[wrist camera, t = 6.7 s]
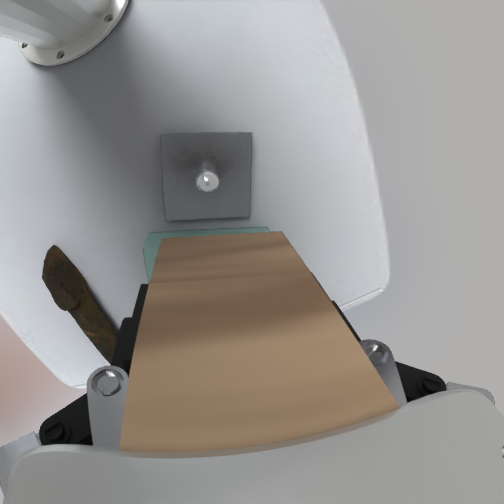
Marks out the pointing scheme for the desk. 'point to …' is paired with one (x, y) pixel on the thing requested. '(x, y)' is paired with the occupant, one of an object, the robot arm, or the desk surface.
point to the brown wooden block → (241, 351)
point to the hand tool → (78, 301)
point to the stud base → (212, 156)
